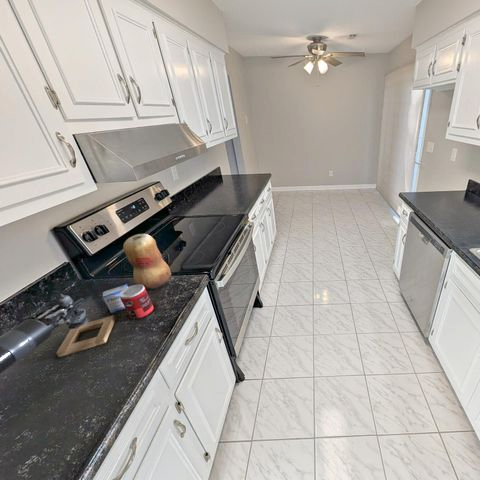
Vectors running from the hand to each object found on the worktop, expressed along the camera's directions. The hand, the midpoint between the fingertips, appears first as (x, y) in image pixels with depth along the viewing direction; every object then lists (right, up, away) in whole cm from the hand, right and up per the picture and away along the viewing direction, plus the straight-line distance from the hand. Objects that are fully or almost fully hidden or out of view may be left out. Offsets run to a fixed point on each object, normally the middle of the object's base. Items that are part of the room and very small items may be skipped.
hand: (77, 300), depth 85 cm
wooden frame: (+1, -14, +4) cm, 15 cm away
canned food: (+12, -9, +14) cm, 20 cm away
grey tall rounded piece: (0, -8, 0) cm, 8 cm away
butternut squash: (+8, -1, +30) cm, 31 cm away
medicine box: (+1, -7, +18) cm, 20 cm away
